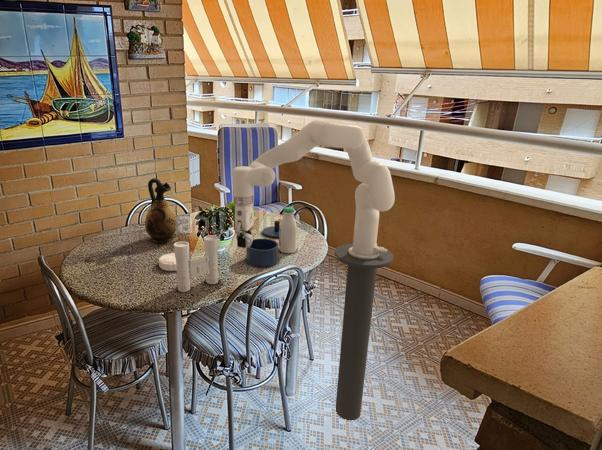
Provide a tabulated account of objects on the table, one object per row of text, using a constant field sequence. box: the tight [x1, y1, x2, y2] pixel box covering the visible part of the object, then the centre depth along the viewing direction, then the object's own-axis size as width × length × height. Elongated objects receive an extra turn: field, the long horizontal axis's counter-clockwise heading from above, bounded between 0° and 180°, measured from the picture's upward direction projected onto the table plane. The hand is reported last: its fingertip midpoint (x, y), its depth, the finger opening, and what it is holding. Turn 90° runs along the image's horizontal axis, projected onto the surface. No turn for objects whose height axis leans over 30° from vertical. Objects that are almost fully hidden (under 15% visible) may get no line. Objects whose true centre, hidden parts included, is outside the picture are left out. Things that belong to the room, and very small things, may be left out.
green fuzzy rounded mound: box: [226, 200, 256, 223], centre depth 220 cm, size 13×23×12 cm, turn 25°
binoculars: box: [173, 234, 220, 293], centre depth 151 cm, size 17×5×18 cm, turn 118°
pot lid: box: [262, 220, 281, 238], centre depth 203 cm, size 14×14×6 cm
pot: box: [245, 238, 279, 268], centre depth 173 cm, size 13×13×8 cm
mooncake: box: [158, 252, 177, 272], centre depth 171 cm, size 12×12×4 cm
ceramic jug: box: [144, 177, 178, 244], centre depth 195 cm, size 17×15×30 cm
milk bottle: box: [278, 206, 298, 254], centre depth 180 cm, size 8×8×20 cm
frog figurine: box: [235, 231, 253, 250], centre depth 159 cm, size 6×7×7 cm
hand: (244, 243), depth 160 cm, fingers closed on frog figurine, 6 cm apart
